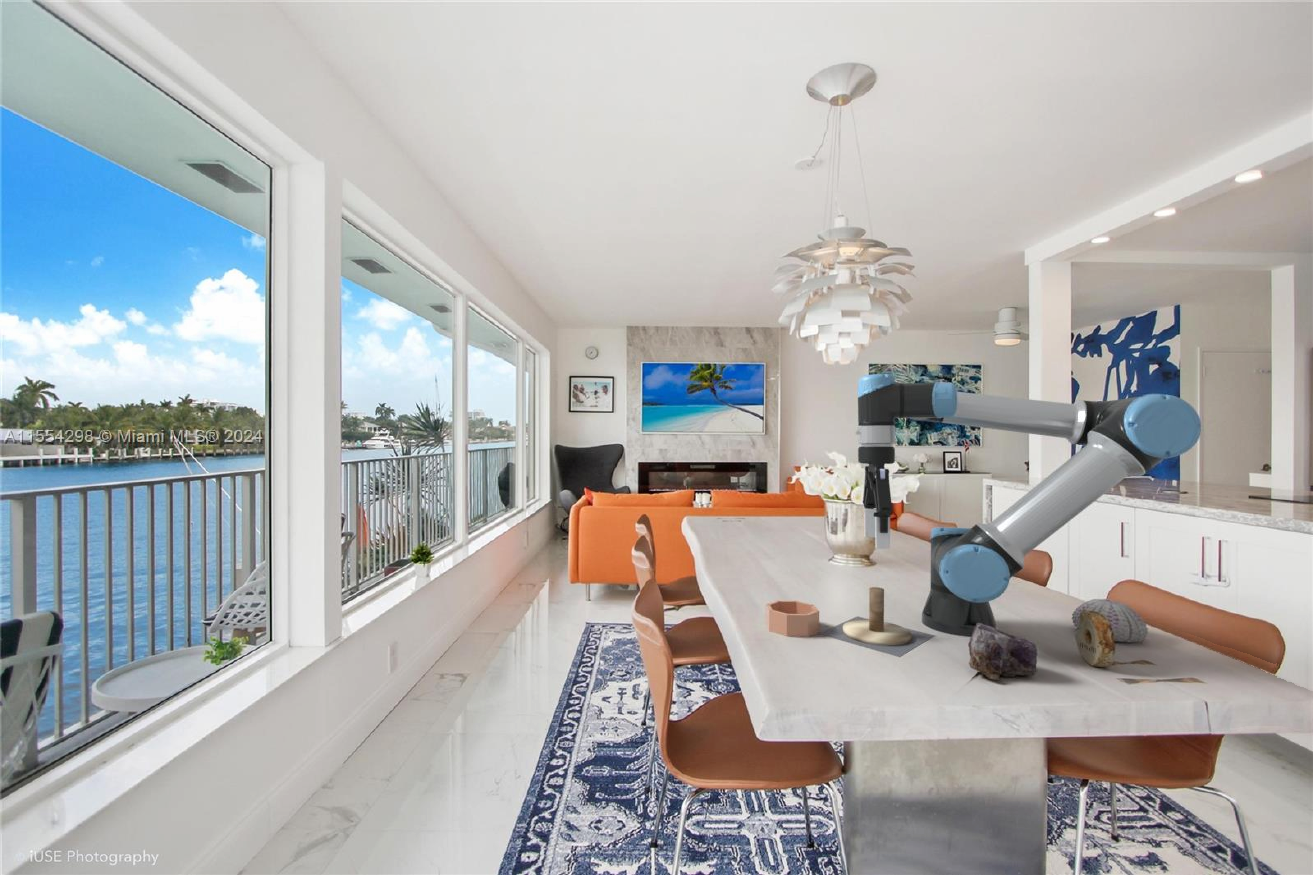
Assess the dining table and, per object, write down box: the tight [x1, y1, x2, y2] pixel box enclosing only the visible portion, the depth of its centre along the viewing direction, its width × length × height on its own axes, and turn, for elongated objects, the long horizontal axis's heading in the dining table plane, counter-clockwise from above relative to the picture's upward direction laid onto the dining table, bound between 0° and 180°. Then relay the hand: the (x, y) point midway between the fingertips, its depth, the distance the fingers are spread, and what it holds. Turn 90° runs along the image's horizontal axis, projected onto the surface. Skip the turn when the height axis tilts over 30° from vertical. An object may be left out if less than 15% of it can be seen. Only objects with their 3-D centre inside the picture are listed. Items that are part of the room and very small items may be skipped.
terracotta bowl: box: [765, 600, 820, 638], centre depth 129 cm, size 11×11×5 cm
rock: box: [967, 623, 1038, 681], centre depth 107 cm, size 12×9×10 cm
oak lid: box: [843, 586, 911, 646], centre depth 125 cm, size 14×14×10 cm
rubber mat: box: [817, 616, 936, 658], centre depth 125 cm, size 18×18×1 cm
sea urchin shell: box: [1071, 598, 1149, 643], centre depth 127 cm, size 13×14×8 cm
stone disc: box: [1074, 611, 1116, 668], centre depth 111 cm, size 10×4×10 cm, turn 163°
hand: (876, 542), depth 125 cm, fingers open, 13 cm apart
